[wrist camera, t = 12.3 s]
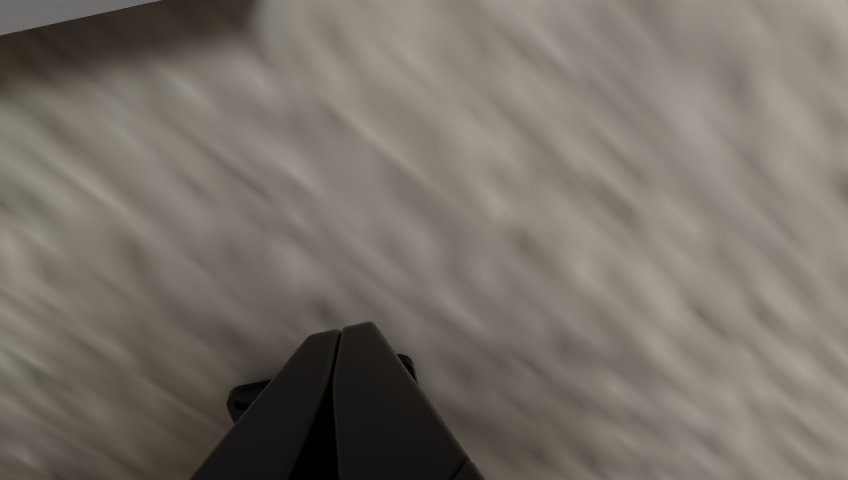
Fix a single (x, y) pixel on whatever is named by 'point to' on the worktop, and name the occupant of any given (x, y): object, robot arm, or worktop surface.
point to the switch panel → (53, 11)
